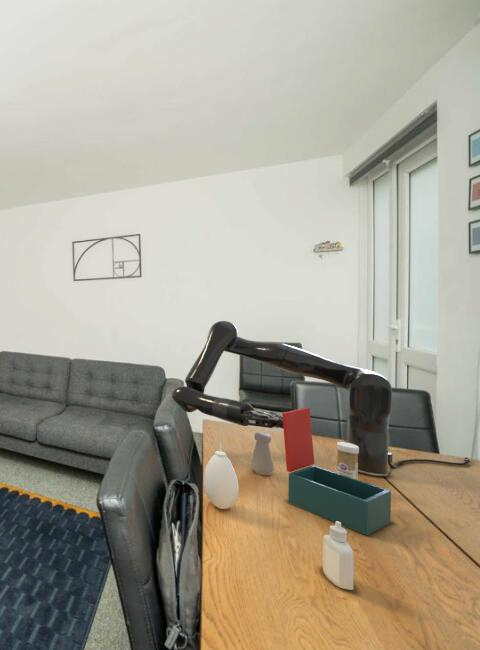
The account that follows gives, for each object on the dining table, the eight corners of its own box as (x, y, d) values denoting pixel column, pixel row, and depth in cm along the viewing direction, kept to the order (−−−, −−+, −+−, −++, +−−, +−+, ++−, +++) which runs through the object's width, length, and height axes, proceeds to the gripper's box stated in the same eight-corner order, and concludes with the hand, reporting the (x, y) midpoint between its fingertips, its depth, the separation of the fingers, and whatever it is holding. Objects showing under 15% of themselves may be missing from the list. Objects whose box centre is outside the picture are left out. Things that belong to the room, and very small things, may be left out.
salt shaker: (278, 477, 114) (278, 437, 114) (257, 476, 115) (258, 436, 115) (266, 469, 120) (267, 431, 120) (247, 467, 121) (247, 430, 121)
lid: (309, 407, 105) (306, 407, 106) (285, 413, 101) (282, 412, 101) (314, 464, 105) (311, 463, 105) (290, 472, 100) (286, 471, 101)
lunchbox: (390, 522, 91) (391, 490, 91) (366, 535, 86) (367, 501, 86) (312, 492, 105) (312, 465, 105) (288, 502, 100) (288, 473, 100)
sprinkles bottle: (334, 487, 108) (335, 443, 108) (338, 482, 111) (338, 440, 110) (356, 493, 104) (357, 448, 104) (359, 489, 107) (360, 445, 107)
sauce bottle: (231, 501, 101) (232, 439, 100) (243, 517, 93) (243, 450, 93) (200, 497, 103) (200, 436, 103) (208, 512, 96) (208, 446, 96)
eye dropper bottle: (321, 581, 72) (322, 523, 72) (322, 567, 76) (323, 512, 76) (353, 594, 69) (354, 533, 69) (352, 578, 73) (353, 521, 73)
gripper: (219, 402, 117) (282, 417, 101) (244, 397, 122) (308, 411, 106) (219, 424, 117) (282, 444, 101) (244, 419, 122) (308, 436, 106)
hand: (295, 427), depth 104 cm, fingers closed
